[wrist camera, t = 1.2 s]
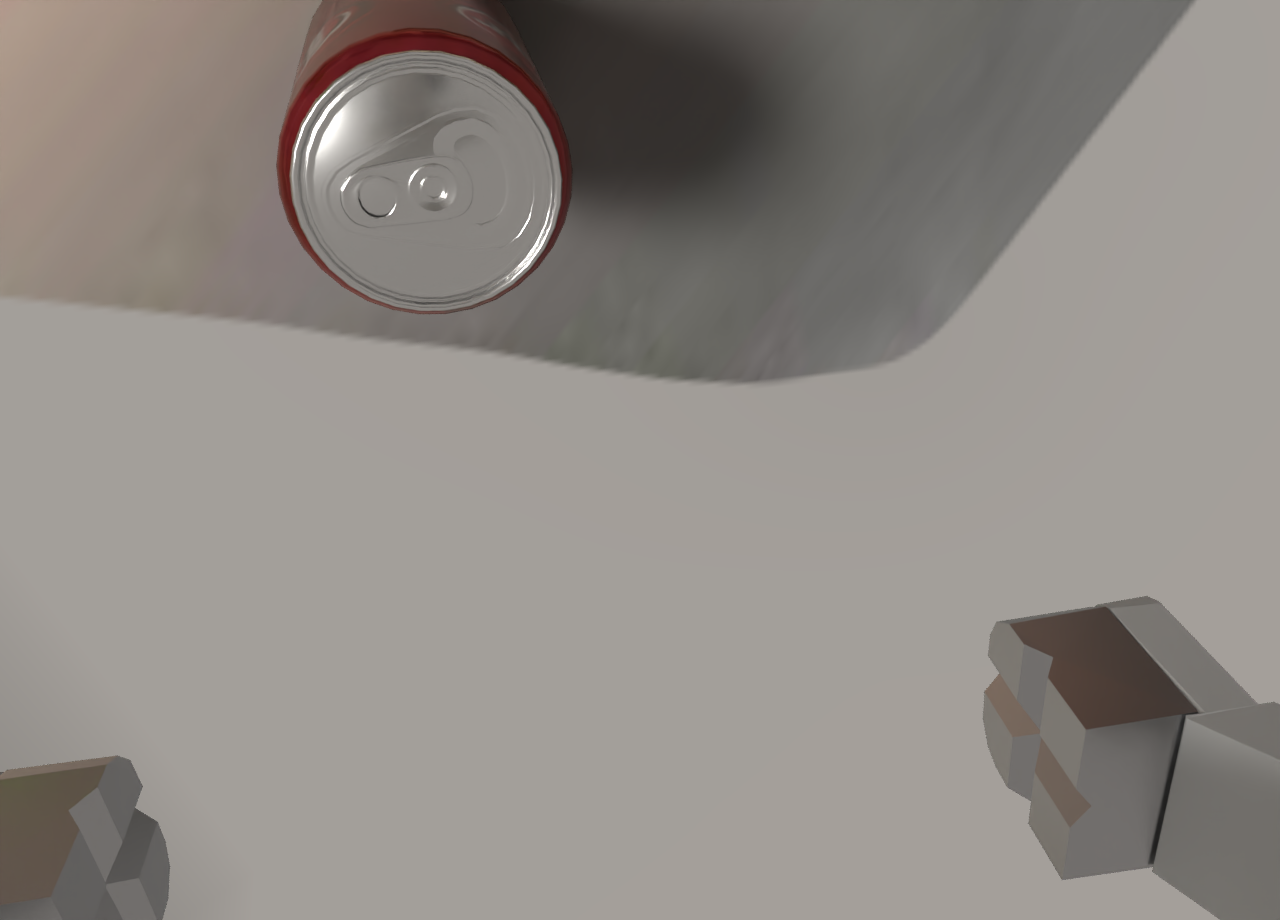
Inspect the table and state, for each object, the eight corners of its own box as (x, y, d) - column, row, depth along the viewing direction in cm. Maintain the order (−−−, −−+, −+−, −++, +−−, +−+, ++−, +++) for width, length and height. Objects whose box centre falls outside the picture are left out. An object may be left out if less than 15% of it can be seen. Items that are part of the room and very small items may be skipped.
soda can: (516, -54, 35) (568, 25, 25) (532, 167, 39) (582, 309, 29) (284, -42, 34) (243, 45, 24) (326, 184, 38) (306, 338, 28)
